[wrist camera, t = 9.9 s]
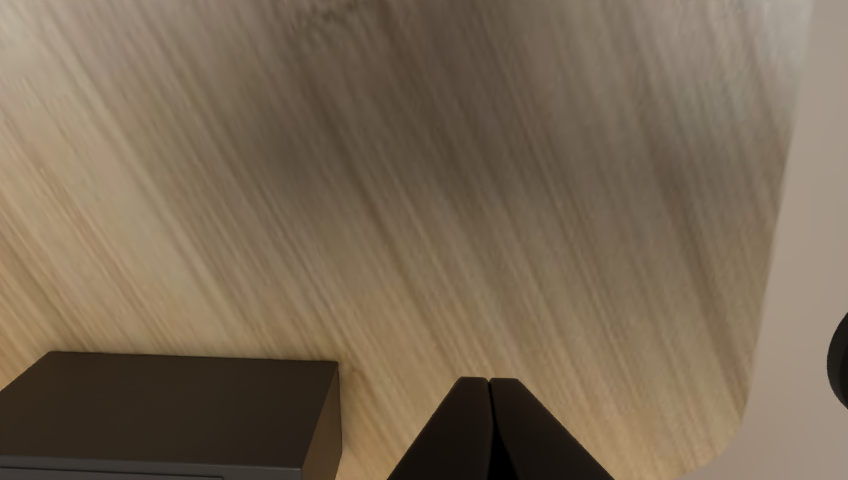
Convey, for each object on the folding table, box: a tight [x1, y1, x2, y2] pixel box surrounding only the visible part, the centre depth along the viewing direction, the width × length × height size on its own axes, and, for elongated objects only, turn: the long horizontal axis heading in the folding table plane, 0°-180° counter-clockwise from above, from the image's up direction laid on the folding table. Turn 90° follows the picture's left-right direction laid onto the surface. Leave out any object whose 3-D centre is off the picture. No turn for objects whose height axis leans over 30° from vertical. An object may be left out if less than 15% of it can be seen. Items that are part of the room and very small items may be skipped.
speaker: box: [0, 352, 342, 480], centre depth 22 cm, size 6×4×12 cm
